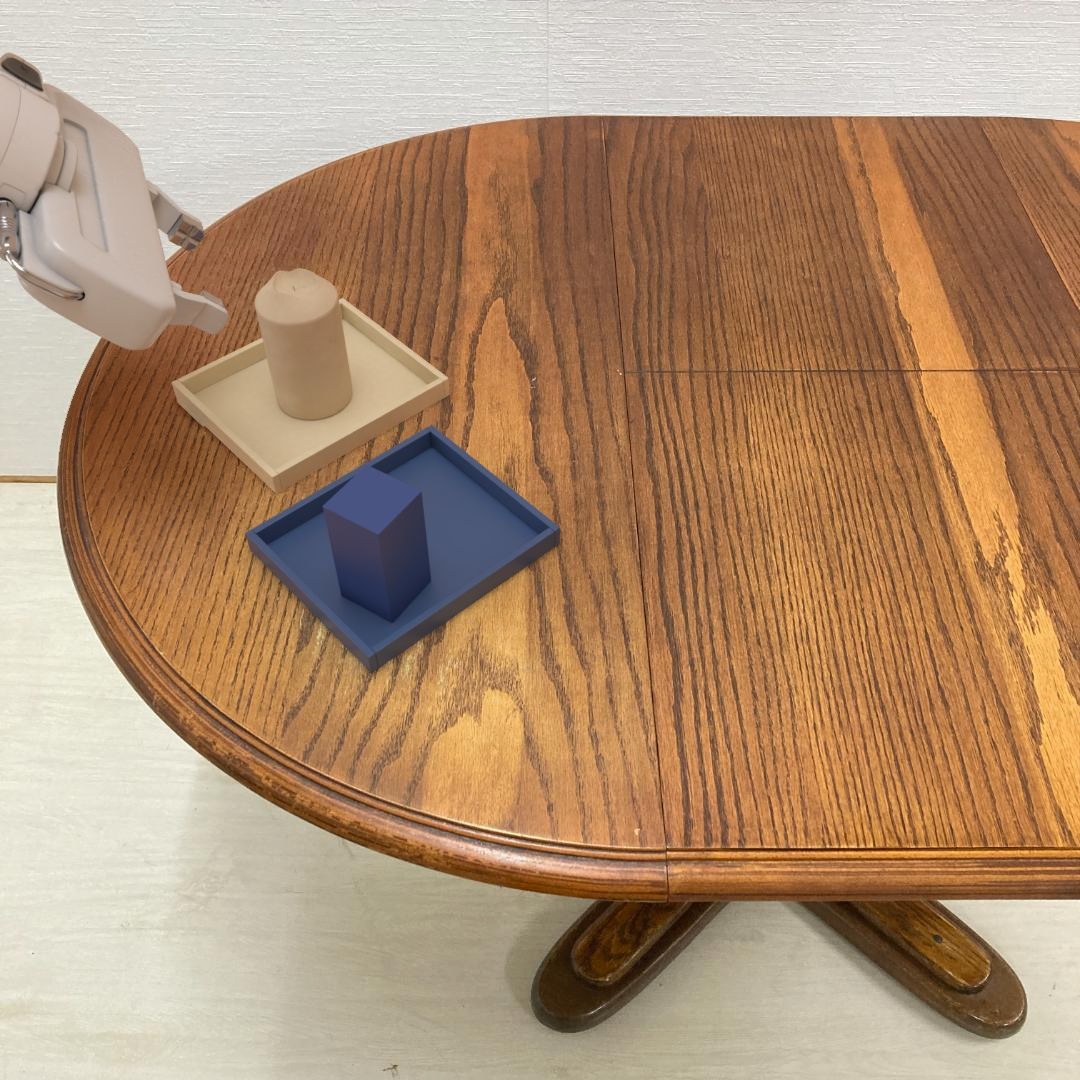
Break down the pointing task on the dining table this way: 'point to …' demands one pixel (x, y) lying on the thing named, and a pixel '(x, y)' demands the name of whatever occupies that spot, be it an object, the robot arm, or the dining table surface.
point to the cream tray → (307, 445)
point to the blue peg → (379, 542)
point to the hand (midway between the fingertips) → (209, 277)
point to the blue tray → (452, 537)
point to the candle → (304, 344)
